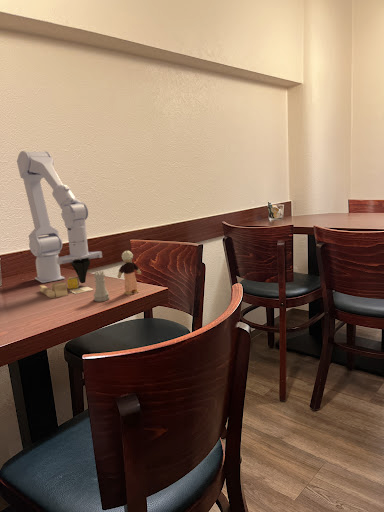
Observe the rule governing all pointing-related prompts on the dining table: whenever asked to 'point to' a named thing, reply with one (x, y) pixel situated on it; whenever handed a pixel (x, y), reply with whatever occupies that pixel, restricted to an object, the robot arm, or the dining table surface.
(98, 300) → the rook chess piece
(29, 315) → the dining table surface
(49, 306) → the dining table surface
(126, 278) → the grandmother figurine
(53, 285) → the maple cube
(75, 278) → the alphabet block
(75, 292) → the card
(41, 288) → the backstop
